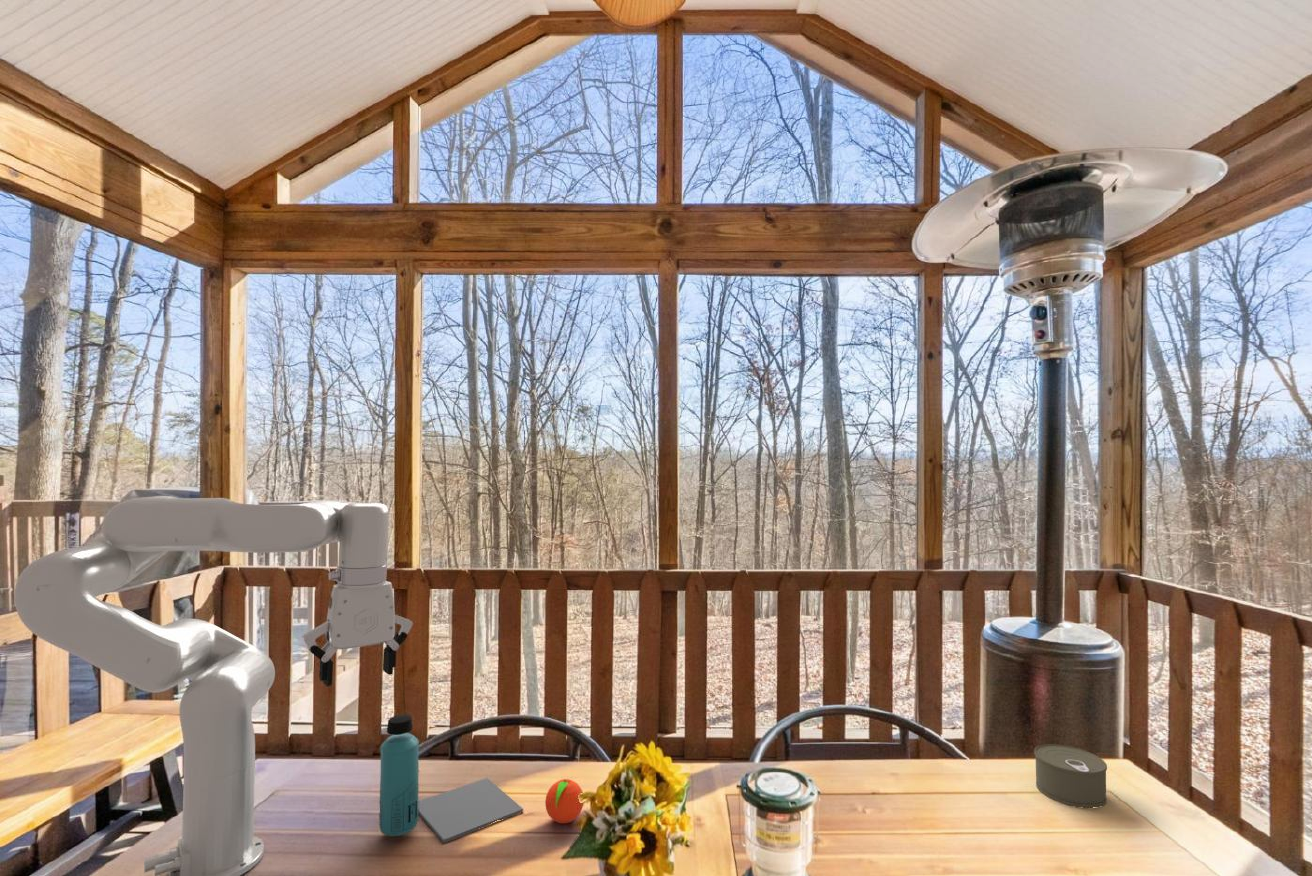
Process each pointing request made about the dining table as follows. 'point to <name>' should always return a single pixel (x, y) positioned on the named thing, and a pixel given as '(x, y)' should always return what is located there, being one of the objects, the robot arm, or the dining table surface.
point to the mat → (466, 809)
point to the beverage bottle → (399, 778)
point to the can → (1070, 775)
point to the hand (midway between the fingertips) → (358, 678)
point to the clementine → (563, 801)
